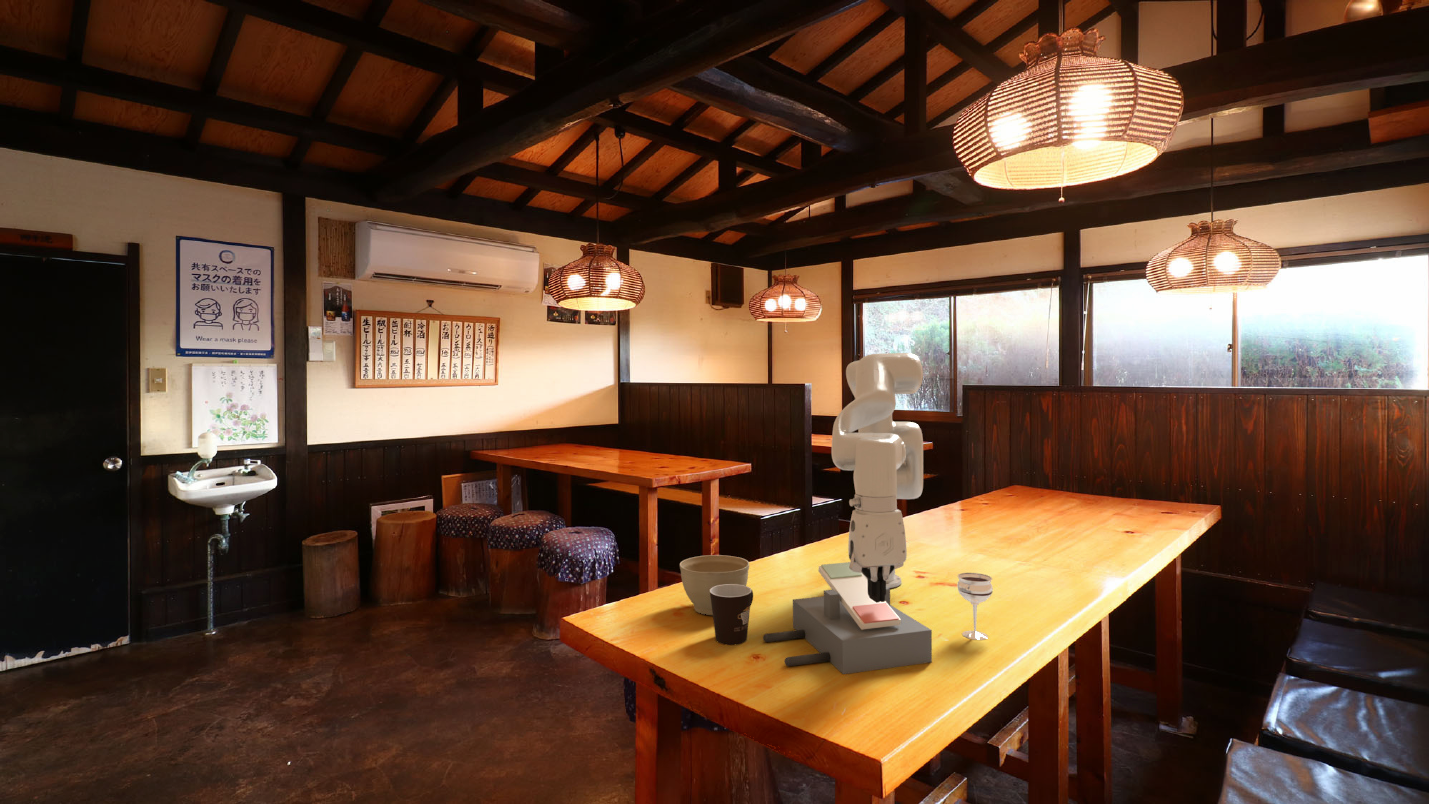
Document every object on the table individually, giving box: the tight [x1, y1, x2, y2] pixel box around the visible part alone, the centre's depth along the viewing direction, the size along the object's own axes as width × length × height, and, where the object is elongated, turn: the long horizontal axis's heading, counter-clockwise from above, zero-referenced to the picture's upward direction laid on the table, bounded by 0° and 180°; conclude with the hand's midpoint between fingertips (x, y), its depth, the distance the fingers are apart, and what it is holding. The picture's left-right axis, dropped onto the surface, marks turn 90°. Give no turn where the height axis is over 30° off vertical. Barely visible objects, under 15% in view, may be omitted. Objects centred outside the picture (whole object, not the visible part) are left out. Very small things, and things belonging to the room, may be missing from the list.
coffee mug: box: [710, 584, 754, 646], centre depth 134 cm, size 12×9×10 cm
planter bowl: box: [679, 554, 750, 616], centre depth 152 cm, size 16×16×11 cm
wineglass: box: [956, 572, 993, 641], centre depth 134 cm, size 7×7×12 cm
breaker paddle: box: [818, 561, 901, 630], centre depth 130 cm, size 20×8×2 cm, turn 15°
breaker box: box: [762, 587, 933, 675], centre depth 129 cm, size 24×27×11 cm
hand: (876, 599), depth 123 cm, fingers closed
